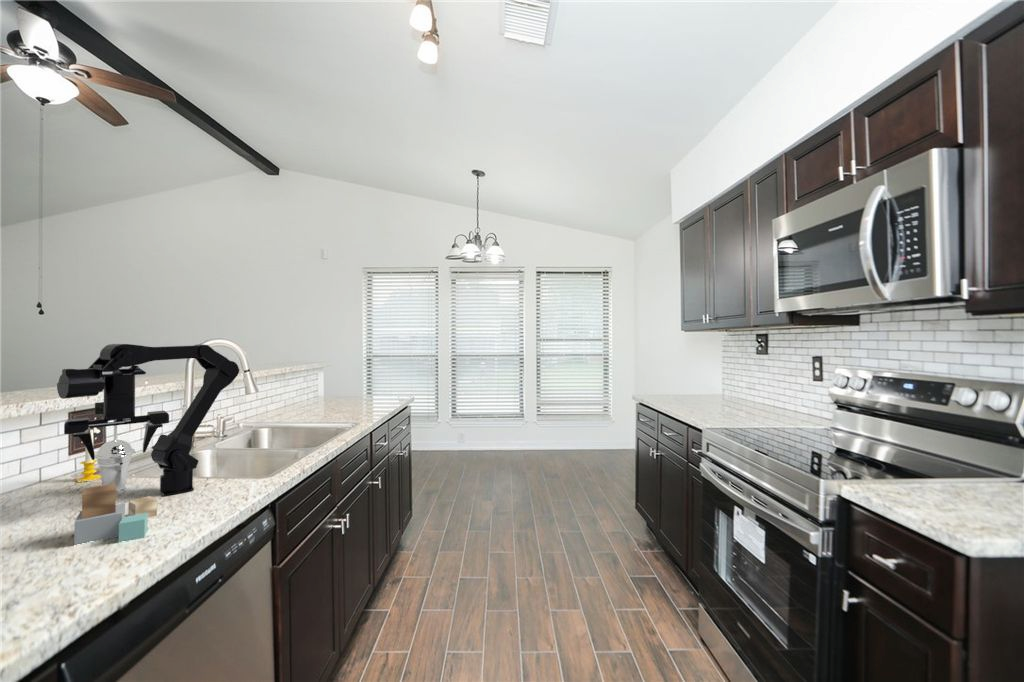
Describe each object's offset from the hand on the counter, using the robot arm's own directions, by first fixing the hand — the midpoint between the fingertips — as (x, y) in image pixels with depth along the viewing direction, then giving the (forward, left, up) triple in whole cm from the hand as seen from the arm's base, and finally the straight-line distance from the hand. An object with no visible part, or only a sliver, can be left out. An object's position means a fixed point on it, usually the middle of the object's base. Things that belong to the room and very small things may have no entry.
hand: (119, 455), depth 103 cm
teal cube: (-2, +23, -13) cm, 27 cm away
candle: (+6, -35, -13) cm, 37 cm away
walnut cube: (+3, +17, -8) cm, 19 cm away
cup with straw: (0, -18, -13) cm, 22 cm away
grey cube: (+3, +17, -13) cm, 22 cm away
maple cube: (-4, +11, -13) cm, 18 cm away
